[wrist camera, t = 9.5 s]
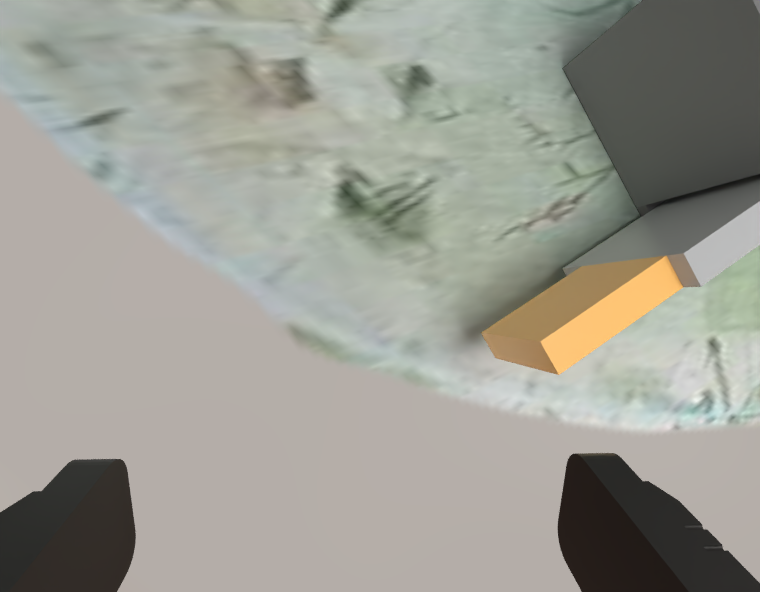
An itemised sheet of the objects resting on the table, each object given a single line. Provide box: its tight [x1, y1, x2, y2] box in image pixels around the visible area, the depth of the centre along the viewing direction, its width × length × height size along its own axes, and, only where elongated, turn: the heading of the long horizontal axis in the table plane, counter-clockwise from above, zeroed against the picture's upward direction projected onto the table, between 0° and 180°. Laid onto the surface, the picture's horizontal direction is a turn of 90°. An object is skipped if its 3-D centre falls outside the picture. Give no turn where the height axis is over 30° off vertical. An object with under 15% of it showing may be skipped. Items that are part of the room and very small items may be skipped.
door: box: [481, 174, 760, 375], centre depth 24 cm, size 2×17×9 cm, turn 122°
